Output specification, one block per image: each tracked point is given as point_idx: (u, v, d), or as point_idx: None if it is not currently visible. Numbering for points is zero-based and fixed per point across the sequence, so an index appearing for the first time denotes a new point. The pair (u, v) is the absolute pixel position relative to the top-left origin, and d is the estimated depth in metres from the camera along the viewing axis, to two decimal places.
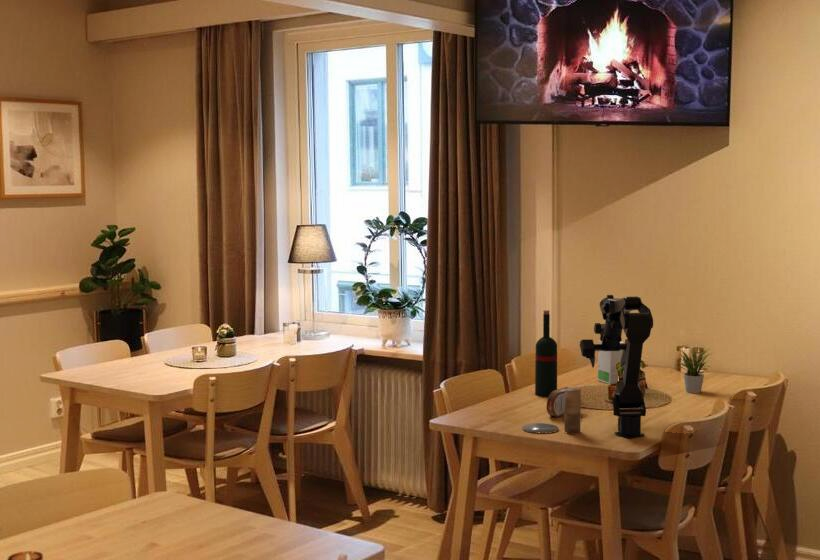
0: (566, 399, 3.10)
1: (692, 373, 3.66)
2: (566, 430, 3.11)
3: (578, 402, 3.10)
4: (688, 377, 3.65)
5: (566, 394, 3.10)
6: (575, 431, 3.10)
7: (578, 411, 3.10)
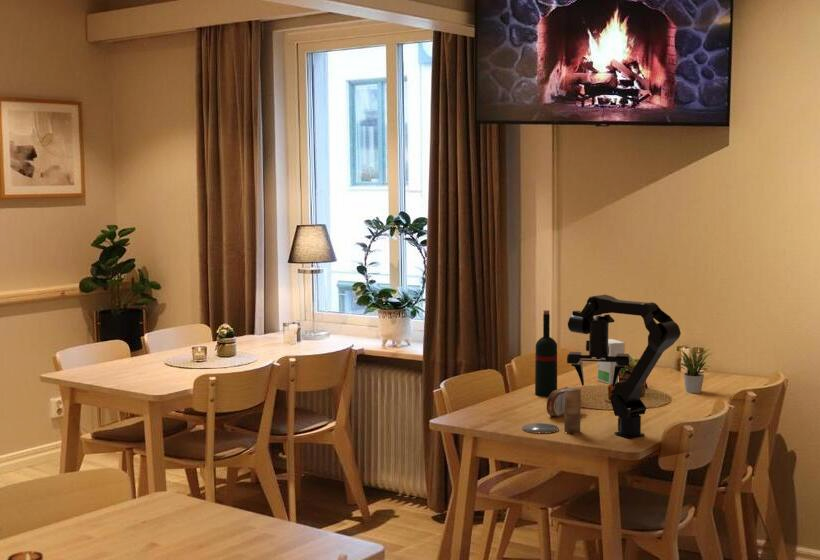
0: (566, 399, 3.10)
1: (692, 373, 3.66)
2: (566, 430, 3.11)
3: (578, 402, 3.10)
4: (688, 377, 3.65)
5: (566, 394, 3.10)
6: (575, 431, 3.10)
7: (578, 411, 3.10)
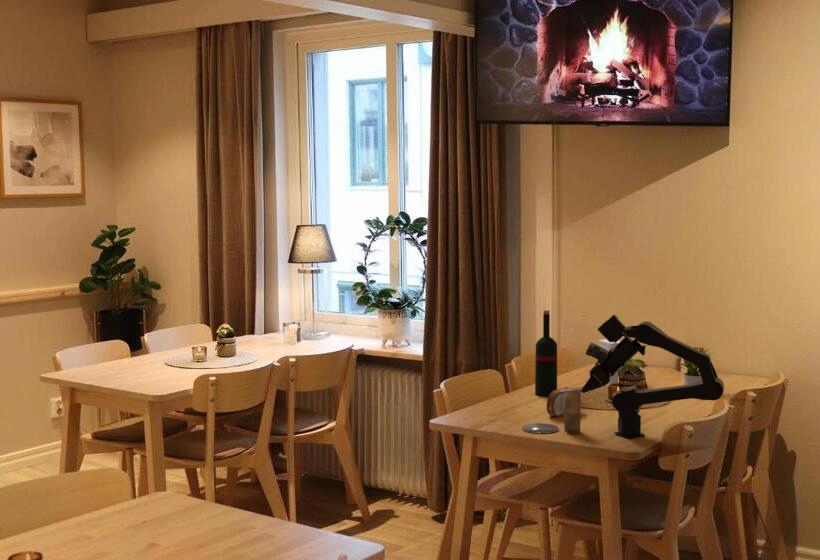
0: (566, 399, 3.10)
1: (692, 373, 3.66)
2: (566, 430, 3.11)
3: (578, 402, 3.10)
4: (688, 377, 3.65)
5: (566, 394, 3.10)
6: (575, 431, 3.10)
7: (578, 411, 3.10)
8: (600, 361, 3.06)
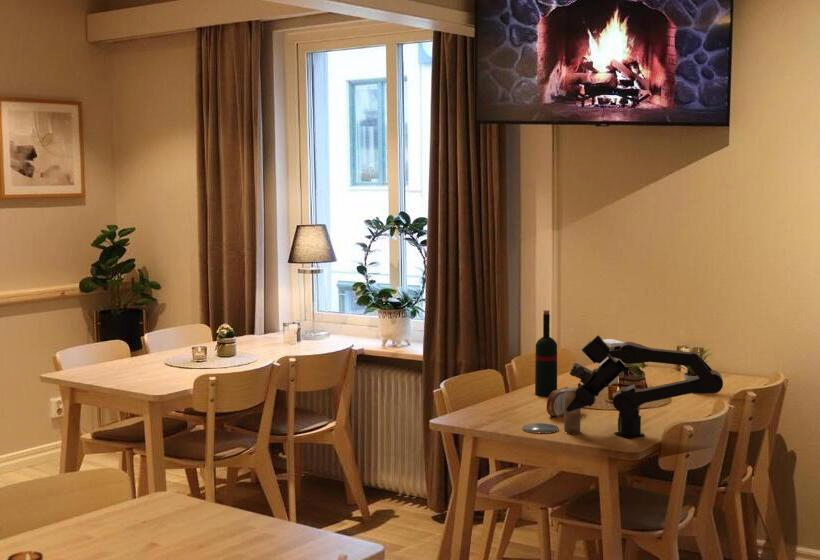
0: (566, 399, 3.10)
1: (692, 373, 3.66)
2: (566, 430, 3.11)
3: None
4: (688, 377, 3.65)
5: (566, 393, 3.10)
6: (575, 431, 3.10)
7: (578, 411, 3.10)
8: (584, 381, 3.07)
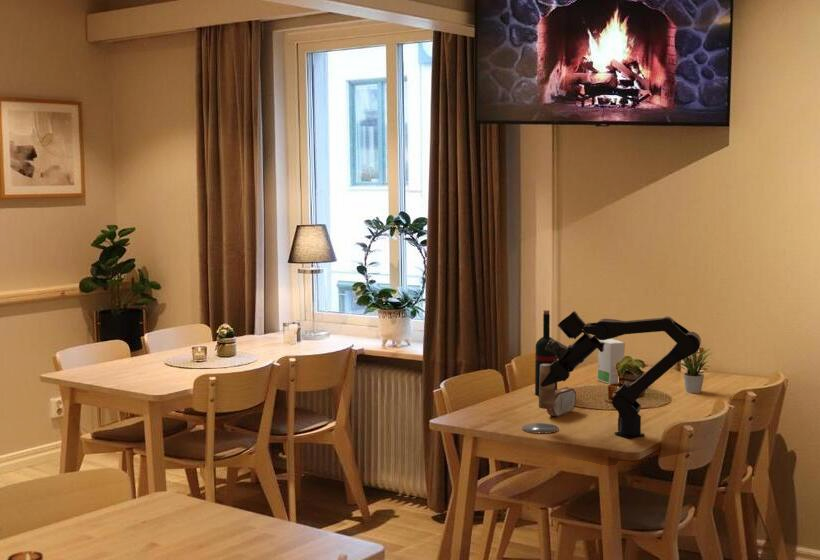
0: (541, 374, 3.13)
1: (692, 373, 3.66)
2: (540, 405, 3.14)
3: None
4: (688, 377, 3.65)
5: (541, 369, 3.12)
6: (549, 406, 3.13)
7: (553, 386, 3.12)
8: (559, 357, 3.10)
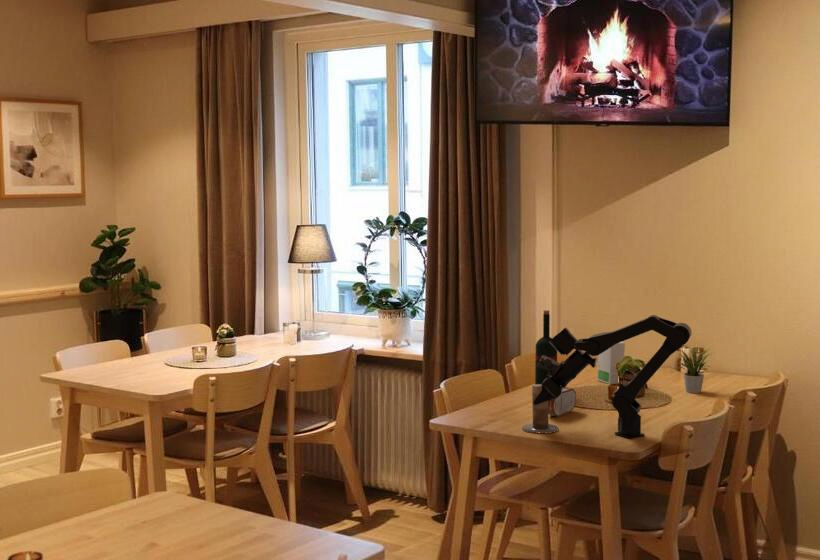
0: (534, 395, 3.14)
1: (692, 373, 3.66)
2: (534, 425, 3.15)
3: None
4: (688, 377, 3.65)
5: (533, 389, 3.14)
6: (543, 426, 3.14)
7: (546, 406, 3.14)
8: (552, 373, 3.11)
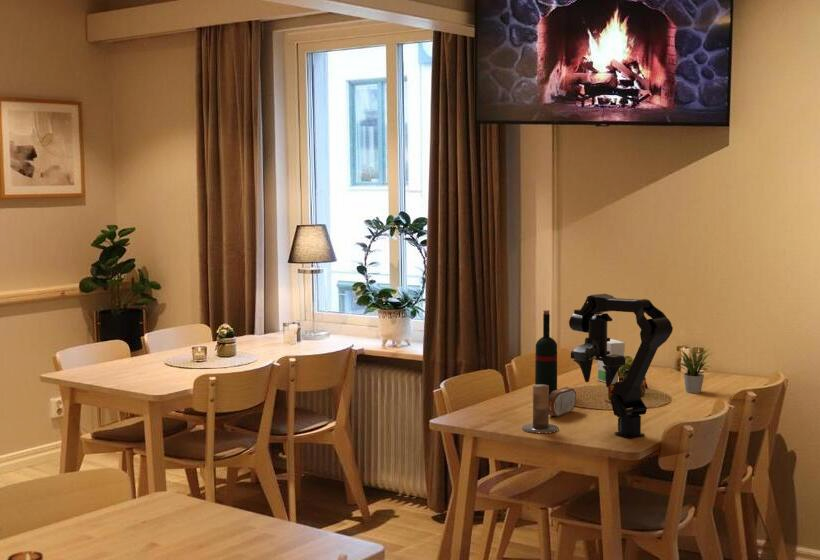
0: (534, 395, 3.14)
1: (692, 373, 3.66)
2: (534, 425, 3.15)
3: (546, 398, 3.14)
4: (688, 377, 3.65)
5: (534, 389, 3.14)
6: (543, 426, 3.14)
7: (546, 407, 3.14)
8: (597, 354, 3.14)
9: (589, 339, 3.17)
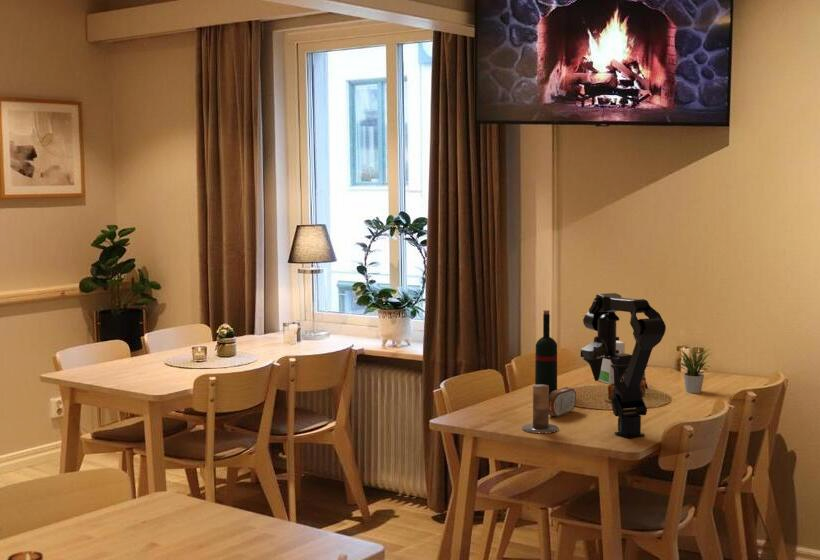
0: (534, 395, 3.14)
1: (692, 373, 3.66)
2: (534, 425, 3.15)
3: (546, 398, 3.14)
4: (688, 377, 3.65)
5: (534, 389, 3.14)
6: (543, 426, 3.14)
7: (546, 407, 3.14)
8: (606, 353, 3.16)
9: (598, 338, 3.18)
